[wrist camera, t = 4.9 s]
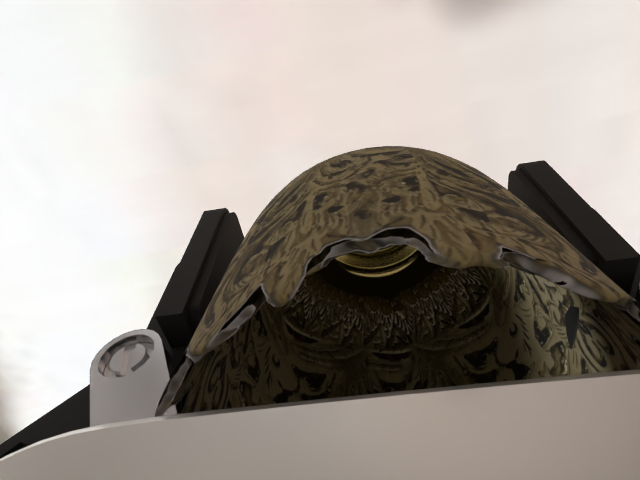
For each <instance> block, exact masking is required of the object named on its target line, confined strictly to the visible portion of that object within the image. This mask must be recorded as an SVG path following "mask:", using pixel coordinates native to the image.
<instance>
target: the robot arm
mask: <svg viewBox="0 0 640 480" xmlns="http://www.w3.org/2000/svg"><path fill="white" fill-rule="evenodd" d="M508 191H510V192H511V193H512V194H513V195H515V196H516V197H517V198H519V199H520V200H521V201H522V202H523V203H524V204H526V205H527V206H528V207H529V208H530V209H531V210H533V211H534V212H535V213H536V214H537V215H538V216H540V217H541V218H542V219H543V220H544V221H545V222H547V223H548V224H549V225H550V226H551V227H552V228H553V229H555V230H556V231H557V232H558V233H559V234H560V235H561V236H563V237H564V238H565V239H566V240H567V241H568V242H569V243H570V244H572V245H573V246H574V247H575V248H576V249H577V250H578V251H579V252H581V253H582V254H583V255H584V256H585V257H586V258H587V259H588V260H589V261H591V262H592V263H593V264H594V265H595V266H596V267H597V268H598V269H600V270H601V271H602V272H603V273H604V274H605V275H606V276H607V277H608V278H610V279H611V280H612V281H613V282H614V283H615V284H616V285H618V286H619V287H620V288H621V289H622V290H623V291H625V292H626V293H627V294H628V295H630V296H631V297H632V298H634V299H635V300H636V302H637V303H638V304H639V305H640V255H639V254H638V253H637V252H636V251H635V250H634V249H633V248H632V247H631V246H630V245H629V244H628V243H627V242H626V241H625V240H624V239H623V238H622V237H621V236H620V235H619V234H618V233H617V232H616V231H615V230H614V229H613V228H612V227H611V226H610V225H609V224H608V223H607V222H606V221H605V220H604V219H603V218H602V216H601V215H600V214H599V213H598V212H597V211H596V210H594V209H593V208H591V207H590V206H589V205H588V204H587V203H586V202H585V201H584V200H583V199H582V198H581V197H580V196H579V195H578V194H577V193H576V192H575V191H574V190H573V189H572V188H571V187H570V186H569V185H568V183H567V182H566V181H565V180H564V179H563V178H562V177H561V176H560V175H559V174H558V173H557V172H556V171H555V170H554V169H553V168H552V167H551V166H550V165H549V164H548V163H547V162H545V161H544V160H543V161H536V162H530V163H523V164H519V165H518V166H517V168H516V170H515V171H511V172H510V173H509V178H508ZM243 240H244V236H243V233H242V230H241V227H240V224H239V221H238V218H237V215H236V214H235V213H234V212H232V213H229V211H228V209H226V208H223V209H216V210H209V211H204V213H203V215H202V217H201V219H200V221H199V223H198V225H197V227H196V230H195V232H194V234H193V236H192V238H191V240H190V242H189V245H188V247H187V249H186V251H185V253H184V255H183V257H182V260H181V262H180V263H179V264H178V265H177V266H176V268H175V270H174V272H173V274H172V276H171V279H170V281H169V283H168V285H167V287H166V289H165V291H164V293H163V296H162V298H161V300H160V302H159V304H158V306H157V308H156V310H155V312H154V315H153V317H152V319H151V321H150V323H149V325H148V327H147V329H140V330H133V331H130V332H127V333H124V334H122V335H120V336H118V337H116V338H114V339H113V340H112V341H110V342H109V343H108V344H106V345H105V346H104V347H103V348H102V349H101V350H100V351H99V352H98V353H97V354H96V356H95V358H94V359H93V361H92V363H91V368H90V385H88V386H87V387H85V388H84V389H82V390H81V391H79V392H78V393H76V394H75V395H73V396H72V397H70V398H69V399H67V400H66V401H64V402H63V403H61V404H60V405H58V406H57V407H56V408H54V409H53V410H51V411H50V412H48V413H47V414H45V415H44V416H42V417H41V418H39V419H38V420H36V421H35V422H33V423H32V424H30V425H29V426H27V427H26V428H24V429H23V430H21V431H20V432H18V433H17V434H15V435H14V436H12V437H11V438H10V439H8V440H7V441H5V442H4V443H2V444H1V445H0V480H640V353H639V355H638V356H637V357H636V363H637V370H625V371H612V372H601V373H590V374H579V375H568V376H557V377H546V378H535V379H525V380H514V381H503V382H492V383H481V384H471V385H460V386H450V387H439V388H429V389H419V390H408V391H398V392H388V393H378V394H367V395H357V396H347V397H337V398H327V399H317V400H307V401H298V402H288V403H278V404H268V405H259V406H249V407H239V408H230V409H220V410H210V411H201V412H193V413H184V414H181V413H182V412H180V409H179V407H178V404H176V405H173V406H171V407H172V408H168V409H167V410H166V412H165V413H164V414H163V415H162V416H158V417H155V411H156V408H157V406H158V403H159V400H160V398H161V396H162V394H163V392H164V390H165V388H166V386H167V384H168V382H169V380H170V378H171V376H172V374H173V372H174V371H175V369H176V367H177V366H178V364H179V362H180V360H181V358H182V357H183V355H184V353H185V351H186V349H187V347H188V345H189V343H190V341H191V339H192V337H193V335H194V333H195V331H196V329H197V327H198V325H199V323H200V321H201V319H202V317H203V315H204V313H205V311H206V309H207V307H208V305H209V303H210V302H211V300H212V298H213V296H214V294H215V292H216V290H217V288H218V286H219V284H220V282H221V280H222V278H223V276H224V274H225V272H226V271H227V269H228V267H229V265H230V263H231V261H232V259H233V257H234V255H235V254H236V252H237V250H238V248H239V246H240V245H241V243H242V241H243ZM578 322H579V307H575V306H570V307H569V309H568V310H567V312H566V313H565V324H566V334H567V339H568V342H569V345H570V349H571V348H572V346H573V343H574V340H575V337H576V333H577V330H578ZM635 341H636V343H637V344H638V345H639V347H640V342H639V341H638V340H636V339H635ZM174 397H175V396H174ZM173 399H174V398H173ZM182 410H183V406H182Z"/></svg>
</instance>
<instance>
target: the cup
mask: <svg viewBox="0 0 640 480" xmlns="http://www.w3.org/2000/svg"><path fill="white" fill-rule="evenodd" d="M570 306H575V307H579V322H578V330H577V333H576V337H575V340H574V343H573V346H572V348H571V349H570V345H569V342H568V339H567V334H566V324H565V313H566V312H567V310H568V309H569V307H570ZM635 339H636V340H638V341H639V342H640V305H639V304H638V303H637V302H636V300H635V299H634V298H632V297H631V296H630V295H628V294H627V293H626V292H625V291H623V290H622V289H621V288H620V287H619V286H618V285H616V284H615V283H614V282H613V281H612V280H611V279H610V278H608V277H607V276H606V275H605V274H604V273H603V272H602V271H601V270H600V269H598V268H597V267H596V266H595V265H594V264H593V263H592V262H591V261H589V260H588V259H587V258H586V257H585V256H584V255H583V254H582V253H581V252H579V251H578V250H577V249H576V248H575V247H574V246H573V245H572V244H570V243H569V242H568V241H567V240H566V239H565V238H564V237H563V236H561V235H560V234H559V233H558V232H557V231H556V230H555V229H553V228H552V227H551V226H550V225H549V224H548V223H547V222H545V221H544V220H543V219H542V218H541V217H540V216H538V215H537V214H536V213H535V212H534V211H533V210H531V209H530V208H529V207H528V206H527V205H526V204H524V203H523V202H522V201H521V200H520V199H519V198H517V197H516V196H515V195H513V194H512V193H511V192H510V191H508V190H507V189H506V188H504V187H503V186H501V185H500V184H498V183H497V182H495V181H494V180H492V179H491V178H489V177H488V176H486V175H485V174H483V173H482V172H480V171H479V170H477V169H475V168H473V167H471V166H469V165H467V164H465V163H463V162H461V161H458V160H456V159H454V158H451V157H449V156H446V155H443V154H440V153H437V152H433V151H429V150H425V149H420V148H412V147H403V146H383V147H373V148H365V149H360V150H356V151H351V152H347V153H344V154H341V155H338V156H335V157H332V158H330V159H328V160H325V161H323V162H321V163H319V164H317V165H315V166H313V167H312V168H310V169H308V170H306V171H305V172H303V173H302V174H300V175H299V176H298V177H296V178H295V179H294V180H292V181H291V182H290V183H289V184H288V185H287V186H286V187H284V188H283V189H282V190H281V191H280V192H279V193H278V194H277V195H276V196H275V197H274V198H273V199H272V200H271V201H270V203H269V204H268V205H267V206H266V207H265V209H264V210H263V211H262V212H261V214H260V215H259V217H258V218H257V219H256V221H255V222H254V224H253V225H252V227H251V228H250V230H249V232H248V233H247V235H246V236H245V238H244V240H243V241H242V243H241V245H240V246H239V248H238V250H237V252H236V254H235V255H234V257H233V259H232V261H231V263H230V265H229V267H228V269H227V271H226V272H225V274H224V276H223V278H222V280H221V282H220V284H219V286H218V288H217V290H216V292H215V294H214V296H213V298H212V300H211V302H210V303H209V305H208V307H207V309H206V311H205V313H204V315H203V317H202V319H201V321H200V323H199V325H198V327H197V329H196V331H195V333H194V335H193V337H192V339H191V341H190V343H189V345H188V347H187V349H186V351H185V353H184V355H183V357H182V358H181V360H180V362H179V364H178V366H177V367H176V369H175V371H174V372H173V374H172V376H171V378H170V380H169V382H168V384H167V386H166V388H165V390H164V392H163V394H162V396H161V398H160V400H159V403H158V406H157V408H156V411H155V417H158V416H162V415H163V414H164V413H165V412H166V410H167V409H168V408H172V407H171V406H173V405H176V404H178V407H179V409H180V412H182V413H181V414H184V413H193V412H201V411H210V410H220V409H230V408H239V407H249V406H259V405H268V404H278V403H288V402H298V401H307V400H317V399H327V398H337V397H347V396H357V395H367V394H378V393H388V392H398V391H408V390H419V389H429V388H439V387H450V386H460V385H471V384H481V383H492V382H503V381H514V380H525V379H535V378H546V377H557V376H568V375H579V374H590V373H601V372H612V371H625V370H637V363H636V357H637V356H638V355H639V353H640V347H639V345H638V344H637V343H636V341H635ZM174 396H175V397H174ZM173 398H174V399H173ZM182 406H183V410H182Z"/></svg>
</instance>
